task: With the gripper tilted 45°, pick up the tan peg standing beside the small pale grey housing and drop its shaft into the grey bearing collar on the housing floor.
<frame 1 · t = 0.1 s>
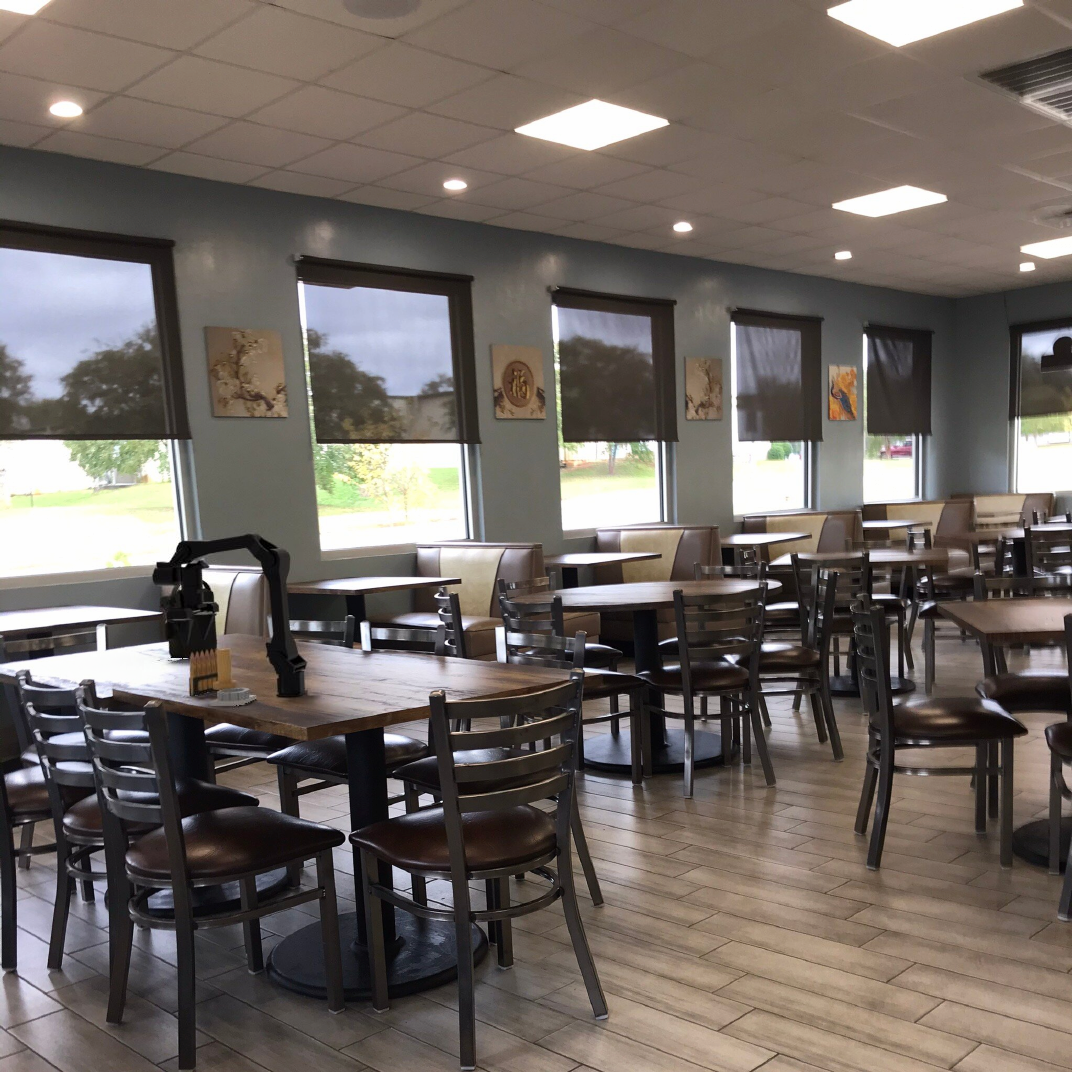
hand: (194, 641, 287), 15 cm above the table, tool pointing down, fingers open, 9 cm apart
tan peg: (225, 696, 282), on the table
shoulder bag: (192, 656, 365), on the table
housing: (233, 702, 273), on the table
ammunition clip: (206, 693, 290), on the table
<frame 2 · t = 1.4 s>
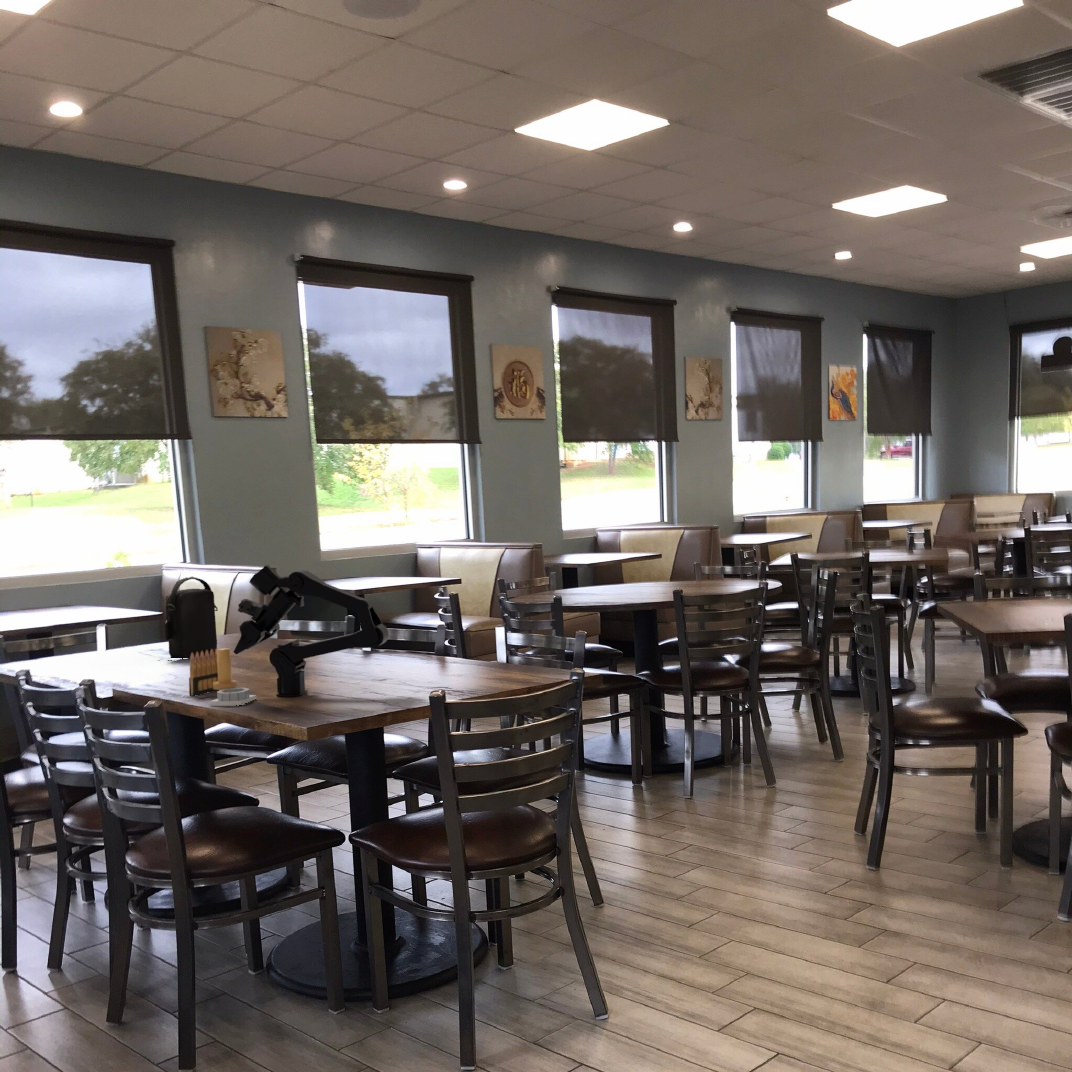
hand: (240, 650, 282), 12 cm above the table, tool tilted 45°, fingers open, 9 cm apart
nothing on the table moved.
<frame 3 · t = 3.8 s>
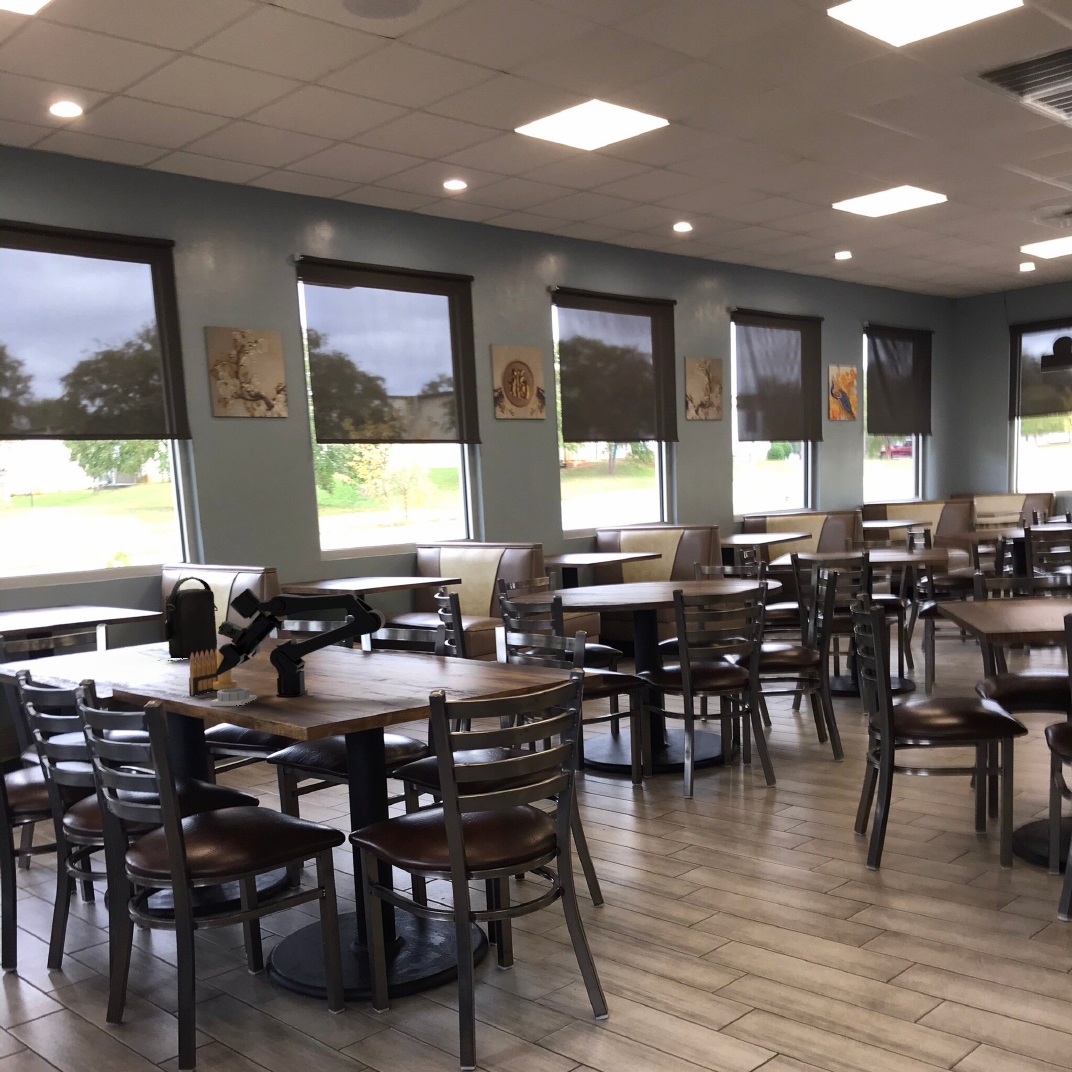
hand: (219, 672, 282), 7 cm above the table, tool tilted 45°, fingers closed on tan peg, 4 cm apart
tan peg: (225, 696, 282), on the table, touching gripper
everything else where it was.
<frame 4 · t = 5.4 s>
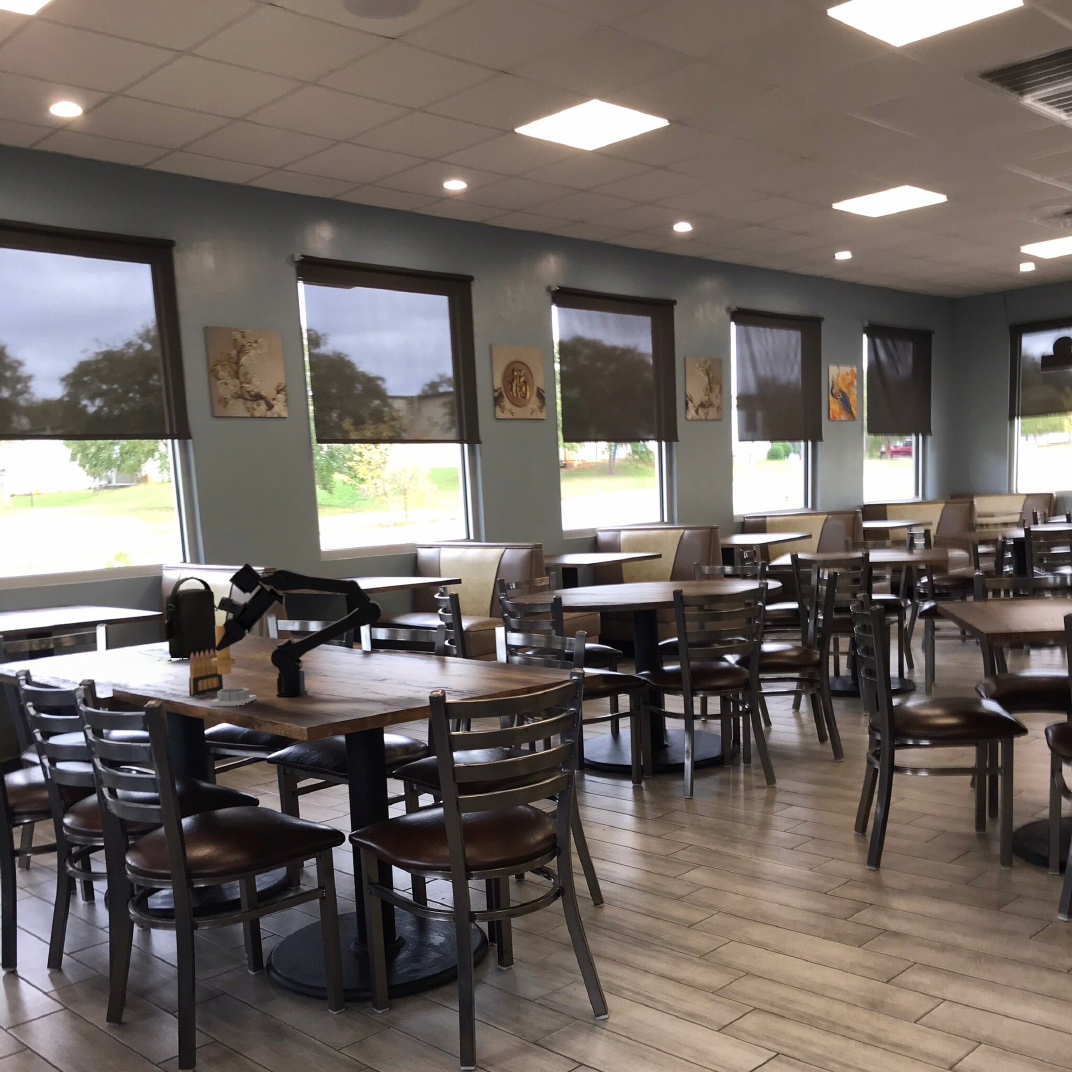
hand: (218, 649, 279), 13 cm above the table, tool tilted 45°, fingers closed on tan peg, 4 cm apart
tan peg: (224, 673, 279), point 7 cm above the table, touching gripper
everything else where it was.
when the fingers open (9 cm above the table, at t = 7.4 s): tan peg stays where it is, resting on housing.
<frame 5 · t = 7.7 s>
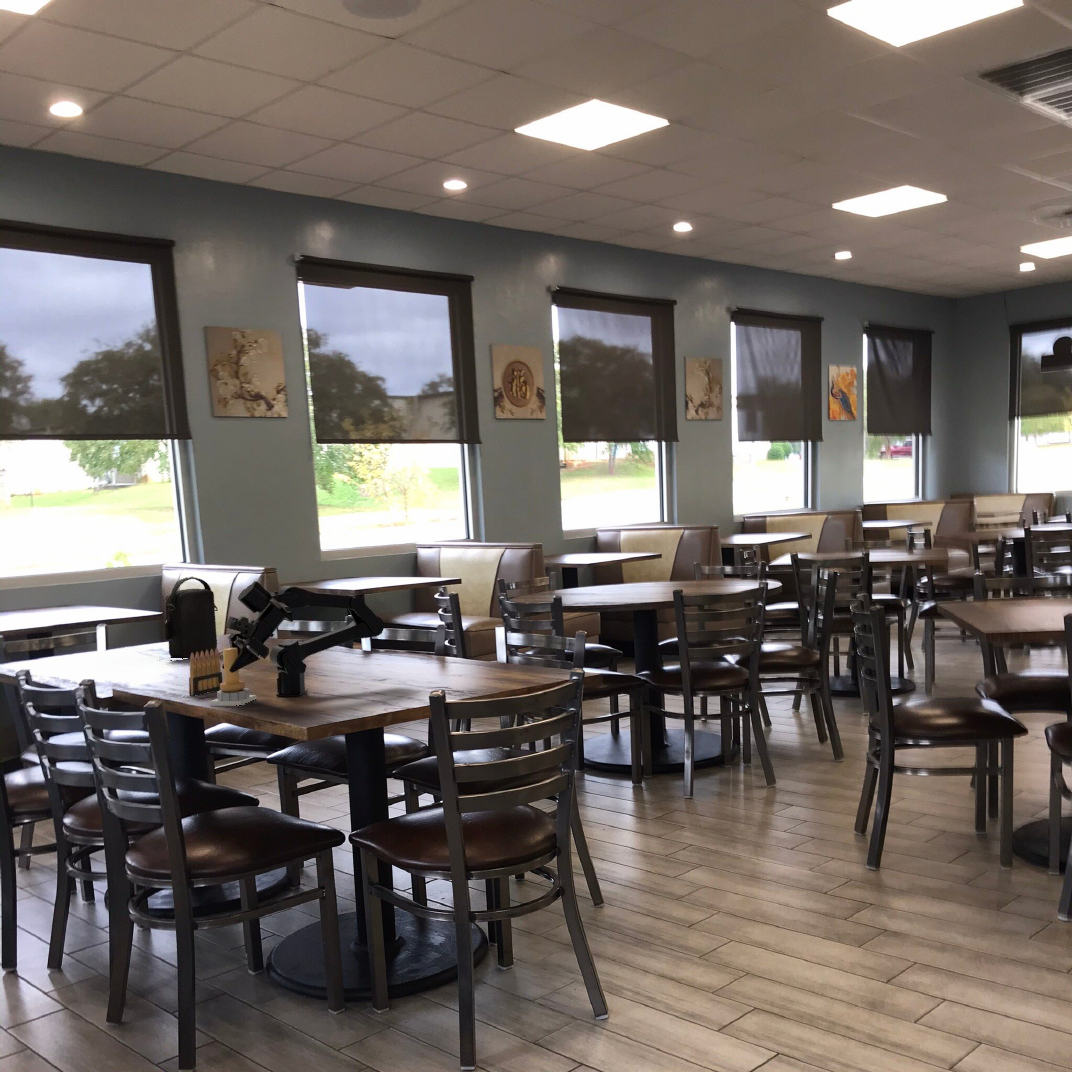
hand: (226, 670, 272), 9 cm above the table, tool tilted 45°, fingers open, 6 cm apart
tan peg: (233, 697, 273), point 1 cm above the table, touching housing
everything else where it was.
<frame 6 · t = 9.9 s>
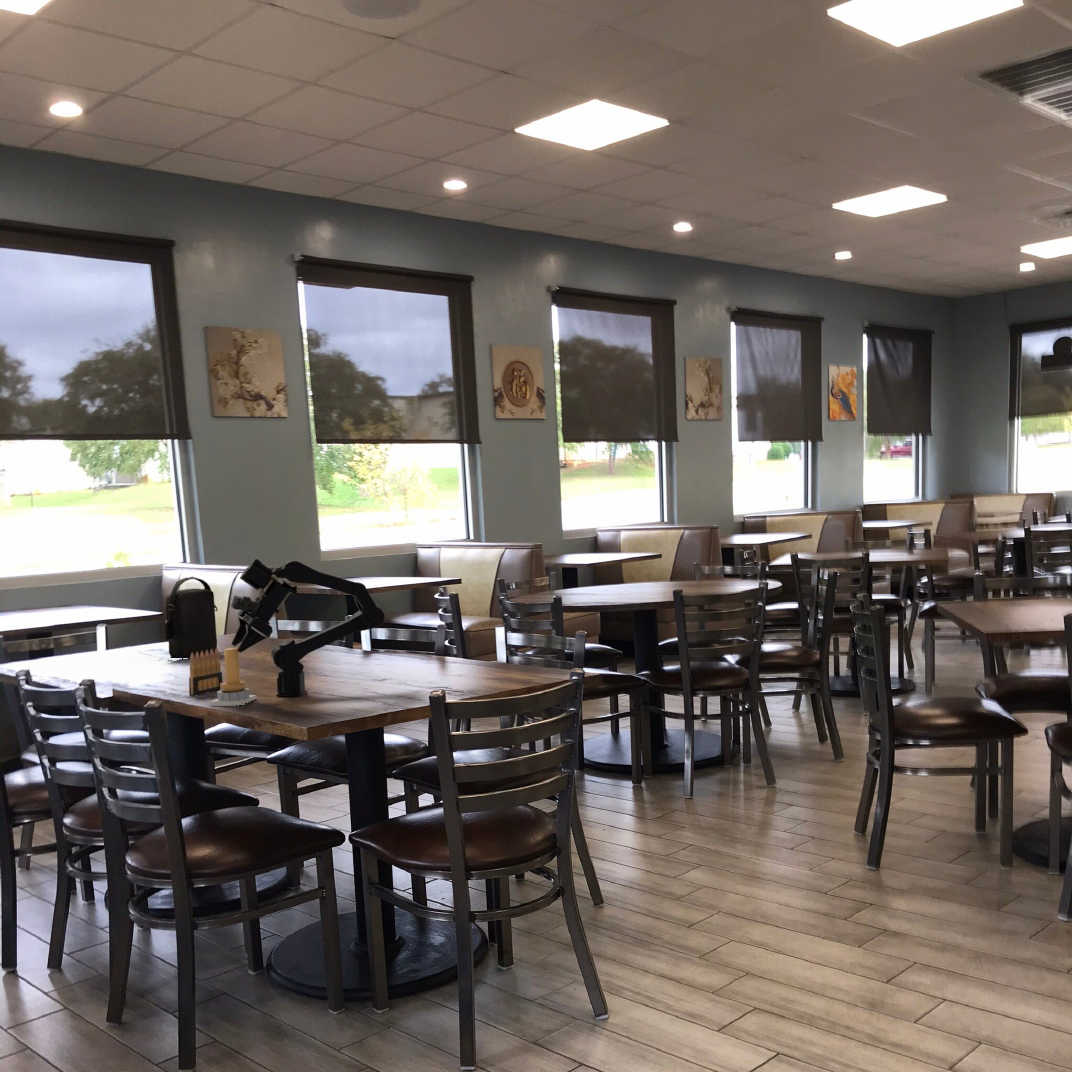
hand: (235, 648, 277), 14 cm above the table, tool tilted 40°, fingers open, 9 cm apart
tan peg: (233, 698, 273), point 1 cm above the table, touching gripper, housing
everything else where it was.
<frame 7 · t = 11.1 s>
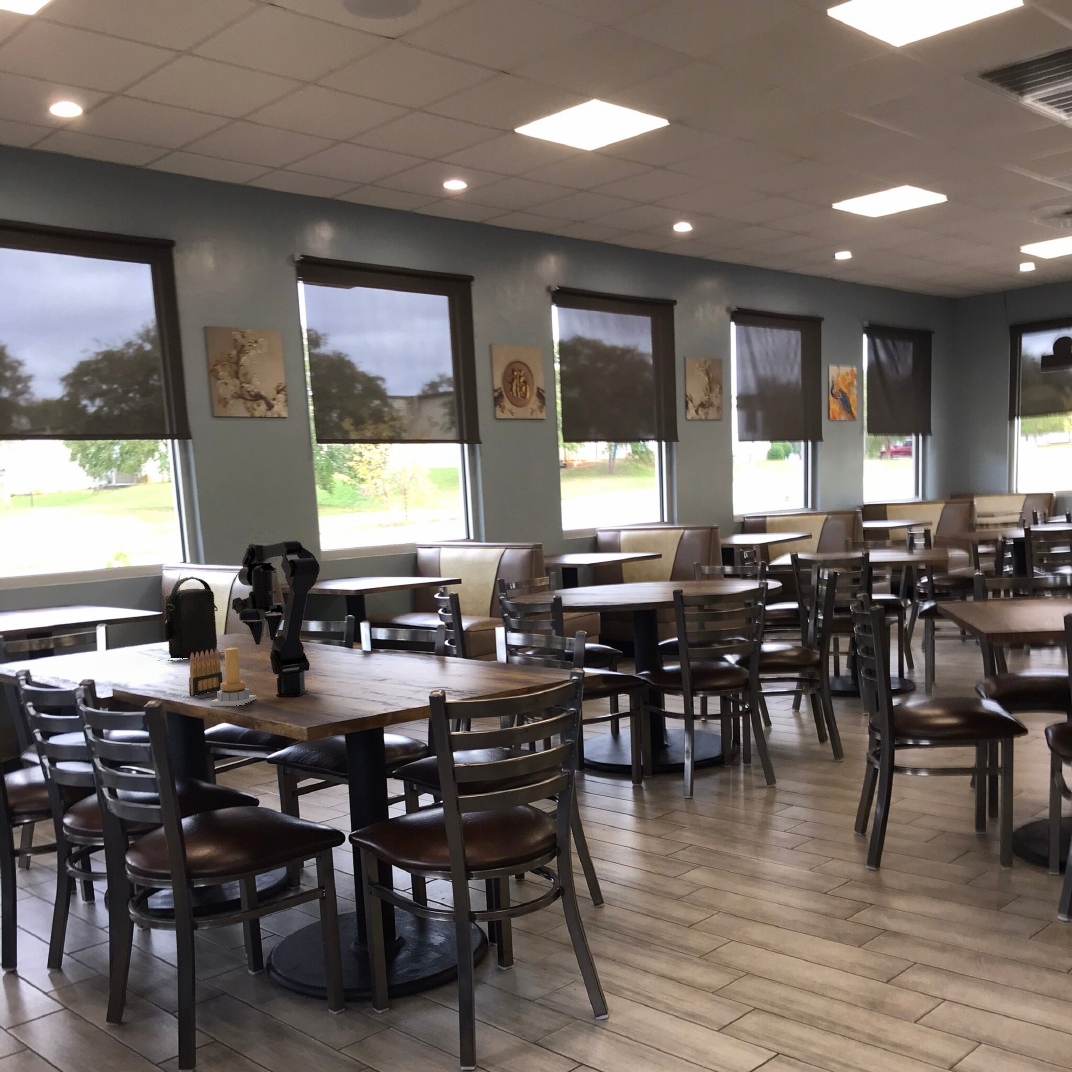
hand: (265, 642, 294), 13 cm above the table, tool pointing down, fingers open, 9 cm apart
tan peg: (233, 697, 273), point 1 cm above the table, touching housing
everything else where it was.
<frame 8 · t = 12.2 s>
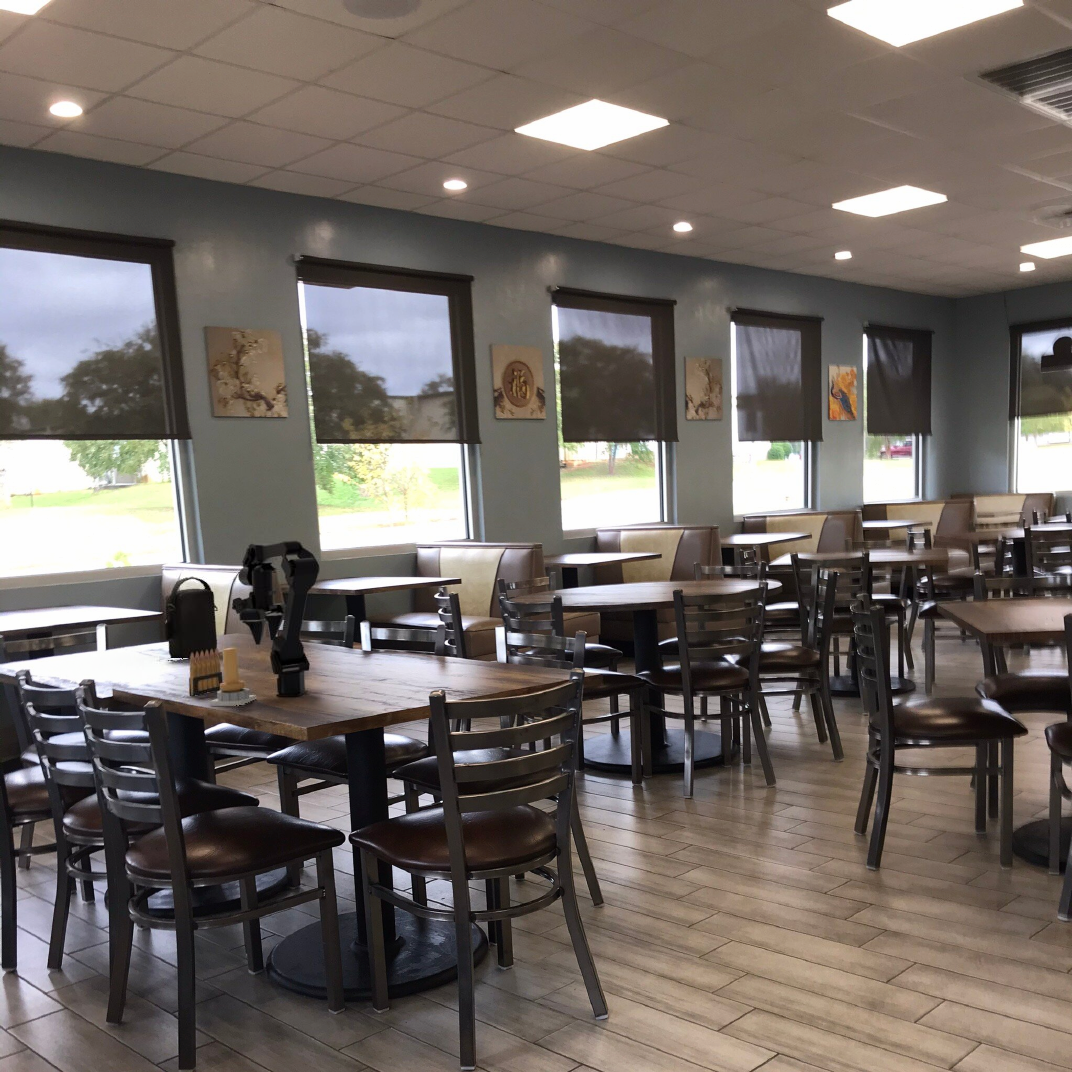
hand: (265, 642, 294), 13 cm above the table, tool pointing down, fingers open, 9 cm apart
nothing on the table moved.
at the end: tan peg 0.0 cm from the target spot, point 1.3 cm above the table; tan peg tilted 3°; the gripper is holding nothing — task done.
